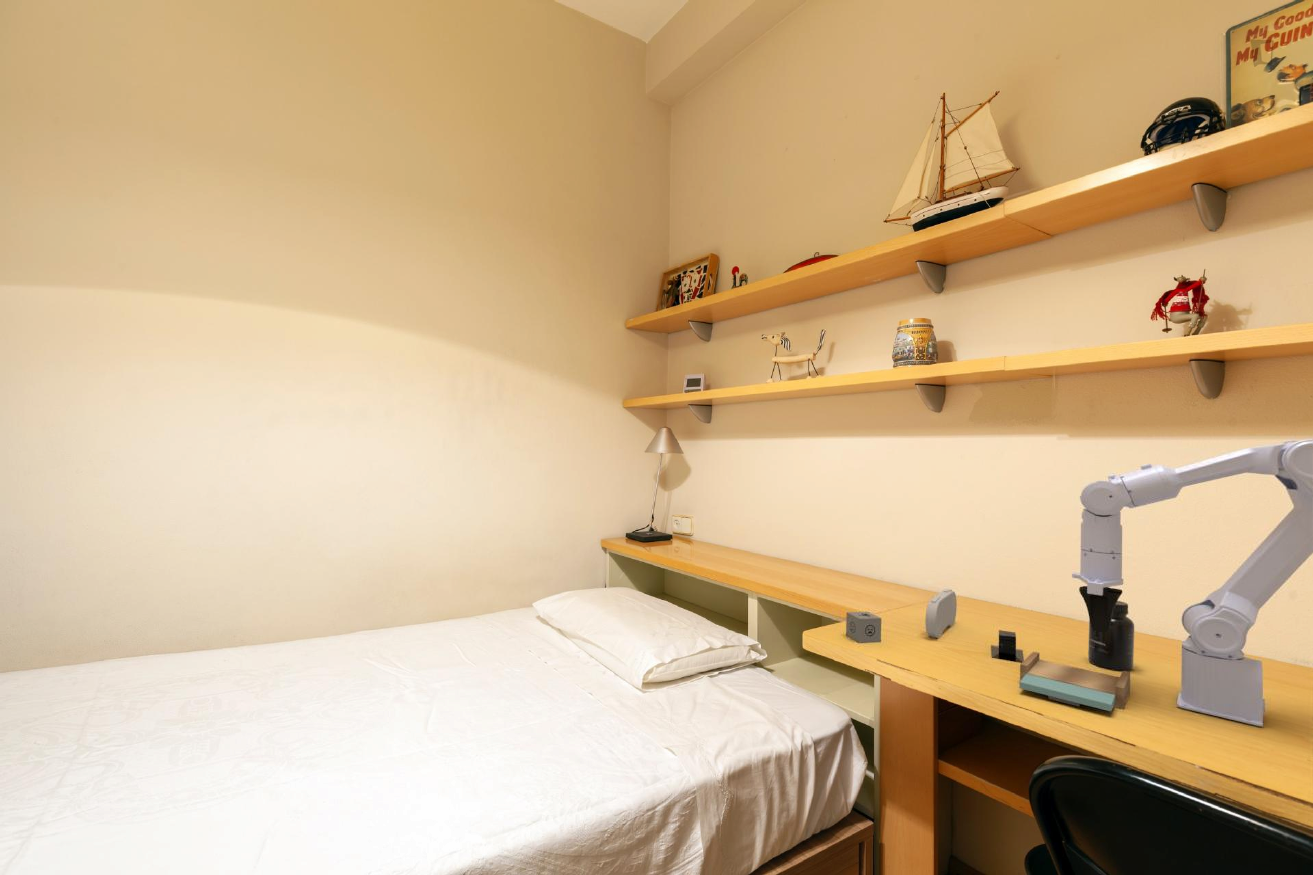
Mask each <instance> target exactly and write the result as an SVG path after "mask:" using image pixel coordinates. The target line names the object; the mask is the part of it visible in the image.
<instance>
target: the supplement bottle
mask: <svg viewBox="0 0 1313 875" xmlns="http://www.w3.org/2000/svg"><path fill="white" fill-rule="evenodd" d="M1128 615H1129V604H1128V603H1127V602H1124V601H1121V600H1117V603H1116V605H1115V608H1114V611H1113V615H1112V620H1111V624H1110V628H1109V630H1108V632H1107V633H1104V632H1099V631H1093V630H1092V627H1091V624H1090V619H1089V620H1088V621H1089V622H1088V649H1087V650H1088V652H1087V654H1088V656H1087V657H1088V660H1089V662H1090V663H1091V664H1093V665H1095V666H1097V667H1099V668H1102V669H1108V670H1111V671H1119V672H1122V671H1126V672H1130V671H1131V670H1132V669H1133V668H1134V658H1135V657H1134V652H1135V650H1134V649H1135V623H1134V621H1133V620H1132V619H1130V618H1129V617H1128Z"/></svg>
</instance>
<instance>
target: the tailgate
mask: <svg viewBox="0 0 1313 875" xmlns="http://www.w3.org/2000/svg"><path fill="white" fill-rule="evenodd" d="M1018 688H1019V689H1021V690H1025V691H1030V692H1033V693H1037V694H1042V695H1045V696H1048V700H1051V701H1056V702H1060V703H1063V704H1068V705H1071V706H1076V707H1080V706H1081V705H1084V706H1088V707H1092V708H1097V709H1100V710H1104V711H1107V712H1112V711H1113V708H1114V707H1113V706H1114V703H1115V695H1114V694H1110V693H1106V692H1101V691H1097V690H1093V689H1089V688H1085V687H1080V686H1076V685H1072V684H1068V683H1064V682H1059V681H1055V680H1051V679H1047V678H1043V677H1038V676H1034V675H1030V674H1026V675H1025V676H1024V677H1023V678H1022V680H1021V681H1020V680H1019V687H1018Z"/></svg>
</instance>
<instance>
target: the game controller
mask: <svg viewBox="0 0 1313 875" xmlns="http://www.w3.org/2000/svg"><path fill="white" fill-rule="evenodd" d="M957 606H958V604H957V596H956V592H955V591H954V590H952V589H948V588H945V589H943V590H942V591H940V592H939V593H937V594H935V595H934V596H933V597H931V598H930V599H929V601H928V603H927V606H926V610H925V611H926V612H925V631H926V635H927V636H928V637H930V638H934V639H940V638H941V637H942V635H943V632H944V631H945V629H946V628H948V627H950V628H951V627H953V626H954V625H955V622H956V618H957V609H958V608H957Z"/></svg>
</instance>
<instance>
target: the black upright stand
mask: <svg viewBox="0 0 1313 875" xmlns="http://www.w3.org/2000/svg"><path fill="white" fill-rule="evenodd" d="M990 651H991V652H990V654H991V656H990V657H991V659H994V660H1001V661H1007V662H1013V663H1019V664H1021V663H1022V662H1023V661H1024V660H1025V659H1024V658H1025V657H1024V652H1023V651H1024V650H1023V649H1018V648H1017V635H1016V632H1014V631H1008V630H1001V629H999V630H998V645H994V644H991V645H990Z"/></svg>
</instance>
